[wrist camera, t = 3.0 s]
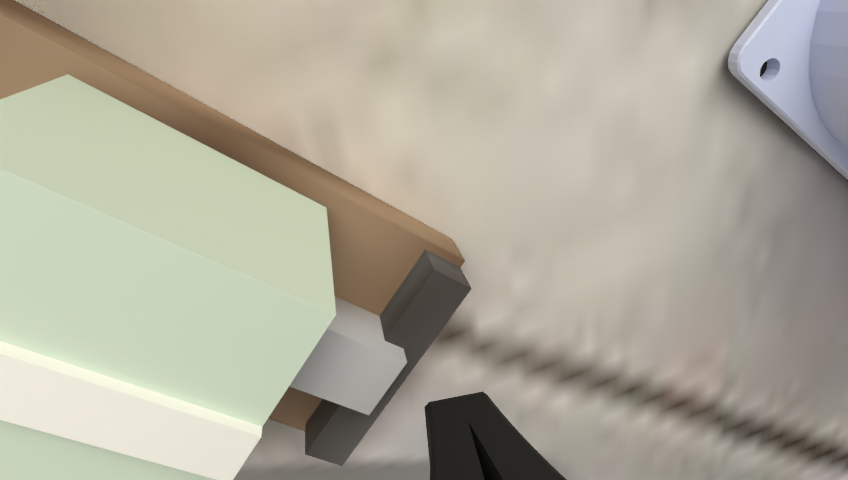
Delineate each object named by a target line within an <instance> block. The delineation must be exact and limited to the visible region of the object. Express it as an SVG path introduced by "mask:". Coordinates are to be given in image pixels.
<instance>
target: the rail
mask: <svg viewBox="0 0 848 480" xmlns="http://www.w3.org/2000/svg"><path fill="white" fill-rule="evenodd" d="M67 74H69V75H70V76H72V77H74V78H76V79H78V80H80V81H82V82H84V83H86V84H88V85H90V86H92V87H94V88H96V89H98V90H100V91H101V92H103V93H105V94H107V95H109V96H111V97H113V98H115V99H117V100H119V101H121V102H123V103H125V104H127V105H129V106H131V107H132V108H134V109H136V110H138V111H140V112H142V113H144V114H146V115H148V116H150V117H152V118H154V119H156V120H158V121H160V122H162V123H164V124H165V125H167V126H169V127H171V128H173V129H175V130H177V131H179V132H181V133H183V134H185V135H187V136H189V137H191V138H193V139H195V140H196V141H198V142H200V143H202V144H204V145H206V146H208V147H210V148H212V149H214V150H216V151H218V152H220V153H222V154H224V155H226V156H227V157H229V158H231V159H233V160H235V161H237V162H239V163H241V164H243V165H245V166H247V167H249V168H251V169H253V170H255V171H257V172H259V173H260V174H262V175H264V176H266V177H268V178H270V179H272V180H274V181H276V182H278V183H280V184H282V185H284V186H286V187H288V188H290V189H291V190H293V191H295V192H297V193H299V194H301V195H303V196H305V197H307V198H309V199H311V200H313V201H315V202H317V203H319V204H321V205H322V206H324V207H326V208H327V219H328V230H329V241H330V252H331V263H332V274H333V284H334V295H335V306H336V316H335V317H334V319H333V320H332V322H331V323H330V325H329V326H328V328H327V329H326V331H325V332H324V334H323V335H322V337H321V338H320V340H319V342H318V343H317V345H316V346H315V348H314V349H313V351H312V352H311V354H310V355H309V357H308V358H307V360H306V361H305V363H304V364H303V366H302V367H301V369H300V370H299V372H298V373H297V375H296V376H295V378H294V380H293V381H292V383H291V384H290V386H289V387H288V389H287V390H286V392H285V393H284V395H283V396H282V398H281V399H280V401H279V402H278V404H277V405H276V407H275V408H274V410H273V411H272V413H271V415H270V416H269V418H268V419H271V420H274V421H277V422H280V423H283V424H286V425H289V426H292V427H295V428H298V429H301V430H304V431H305V454H306V455H309V456H312V457H316V458H319V459H322V460H325V461H328V462H331V463H335V464H338V465H341V466H342V465H343V464H344V463H345V461H346V460H347V458H348V457H349V456H350V454H351V453H352V452H353V450H354V449H355V447H356V446H357V445H358V443H359V442H360V441H361V439H362V438H363V437H364V435H365V434H366V432H367V431H368V430H369V428H370V427H371V426H372V424H373V423H374V421H375V420H376V419H377V417H378V416H379V415H380V413H381V412H382V410H383V409H384V408H385V406H386V405H387V404H388V402H389V401H390V399H391V398H392V397H393V395H394V394H395V393H396V391H397V390H398V389H399V387H400V386H401V384H402V383H403V382H404V380H405V379H406V378H407V376H408V375H409V373H410V372H411V371H412V369H413V368H414V367H415V365H416V364H417V362H418V361H419V360H420V358H421V357H422V356H423V354H424V353H425V351H426V350H427V349H428V347H429V346H430V345H431V343H432V342H433V341H434V339H435V338H436V336H437V335H438V334H439V332H440V331H441V330H442V328H443V327H444V325H445V324H446V323H447V321H448V320H449V319H450V317H451V316H452V314H453V313H454V312H455V310H456V309H457V308H458V306H459V305H460V304H461V302H462V301H463V299H464V298H465V297H466V295H467V294H468V293H469V291H470V290H471V287H470V285H469V283H468V281H467V279H466V278H465V276H464V274H463V272H462V270H461V268H460V267H461V265H462V264H463V262H464V261H465V260H464V259H463V257H462V255H461V253H460V252H459V250H458V248H457V246H456V245H455V243H454V241H453V239H451V238H449V237H447V236H445V235H443V234H442V233H440V232H438V231H436V230H434V229H432V228H431V227H429V226H427V225H425V224H423V223H421V222H420V221H418V220H416V219H414V218H412V217H410V216H409V215H407V214H405V213H403V212H401V211H399V210H398V209H396V208H394V207H392V206H390V205H388V204H387V203H385V202H383V201H381V200H379V199H377V198H376V197H374V196H372V195H370V194H368V193H366V192H365V191H363V190H361V189H359V188H357V187H355V186H353V185H352V184H350V183H348V182H346V181H344V180H342V179H341V178H339V177H337V176H335V175H333V174H331V173H330V172H328V171H326V170H324V169H322V168H320V167H319V166H317V165H315V164H313V163H311V162H309V161H308V160H306V159H304V158H302V157H300V156H298V155H297V154H295V153H293V152H291V151H289V150H287V149H286V148H284V147H282V146H280V145H278V144H276V143H275V142H273V141H271V140H269V139H267V138H265V137H264V136H262V135H260V134H258V133H256V132H254V131H253V130H251V129H249V128H247V127H245V126H243V125H242V124H240V123H238V122H236V121H234V120H232V119H231V118H229V117H227V116H225V115H223V114H221V113H220V112H218V111H216V110H214V109H212V108H210V107H208V106H207V105H205V104H203V103H201V102H199V101H197V100H196V99H194V98H192V97H190V96H188V95H186V94H185V93H183V92H181V91H179V90H177V89H175V88H174V87H172V86H170V85H168V84H166V83H164V82H163V81H161V80H159V79H157V78H155V77H153V76H152V75H150V74H148V73H146V72H144V71H142V70H141V69H139V68H137V67H135V66H133V65H131V64H130V63H128V62H126V61H124V60H122V59H120V58H119V57H117V56H115V55H113V54H111V53H109V52H108V51H106V50H104V49H102V48H100V47H98V46H97V45H95V44H93V43H91V42H89V41H87V40H86V39H84V38H82V37H80V36H78V35H76V34H75V33H73V32H71V31H69V30H67V29H65V28H64V27H62V26H60V25H58V24H56V23H54V22H52V21H51V20H49V19H47V18H45V17H43V16H41V15H40V14H38V13H36V12H34V11H32V10H30V9H29V8H27V7H25V6H23V5H21V4H19V3H18V2H16V1H14V0H0V99H3V98H6V97H8V96H11V95H14V94H16V93H19V92H22V91H25V90H27V89H30V88H33V87H35V86H38V85H41V84H43V83H46V82H49V81H51V80H54V79H57V78H59V77H62V76H65V75H67Z"/></svg>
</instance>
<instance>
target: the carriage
mask: <svg viewBox="0 0 848 480" xmlns="http://www.w3.org/2000/svg"><path fill="white" fill-rule="evenodd" d="M335 316H336V306H335V295H334V284H333V274H332V263H331V252H330V241H329V230H328V219H327V208H326V207H324V206H322V205H321V204H319V203H317V202H315V201H313V200H311V199H309V198H307V197H305V196H303V195H301V194H299V193H297V192H295V191H293V190H291V189H290V188H288V187H286V186H284V185H282V184H280V183H278V182H276V181H274V180H272V179H270V178H268V177H266V176H264V175H262V174H260V173H259V172H257V171H255V170H253V169H251V168H249V167H247V166H245V165H243V164H241V163H239V162H237V161H235V160H233V159H231V158H229V157H227V156H226V155H224V154H222V153H220V152H218V151H216V150H214V149H212V148H210V147H208V146H206V145H204V144H202V143H200V142H198V141H196V140H195V139H193V138H191V137H189V136H187V135H185V134H183V133H181V132H179V131H177V130H175V129H173V128H171V127H169V126H167V125H165V124H164V123H162V122H160V121H158V120H156V119H154V118H152V117H150V116H148V115H146V114H144V113H142V112H140V111H138V110H136V109H134V108H132V107H131V106H129V105H127V104H125V103H123V102H121V101H119V100H117V99H115V98H113V97H111V96H109V95H107V94H105V93H103V92H101V91H100V90H98V89H96V88H94V87H92V86H90V85H88V84H86V83H84V82H82V81H80V80H78V79H76V78H74V77H72V76H70V75H69V74H67V75H65V76H62V77H59V78H57V79H54V80H51V81H49V82H46V83H43V84H41V85H38V86H35V87H33V88H30V89H27V90H25V91H22V92H19V93H16V94H14V95H11V96H8V97H6V98H3V99H0V480H233V479H234V477H235V476H236V474H237V473H238V471H239V470H240V468H241V467H242V465H243V464H244V462H245V461H246V459H247V458H248V456H249V455H250V453H251V452H252V450H253V449H254V447H255V446H256V444H257V443H258V441H259V440H260V438H261V435H262V427H263V425H264V424H265V422H266V421H267V419H268V418H269V416H270V415H271V413H272V411H273V410H274V408H275V407H276V405H277V404H278V402H279V401H280V399H281V398H282V396H283V395H284V393H285V392H286V390H287V389H288V387H289V386H290V384H291V383H292V381H293V380H294V378H295V376H296V375H297V373H298V372H299V370H300V369H301V367H302V366H303V364H304V363H305V361H306V360H307V358H308V357H309V355H310V354H311V352H312V351H313V349H314V348H315V346H316V345H317V343H318V342H319V340H320V338H321V337H322V335H323V334H324V332H325V331H326V329H327V328H328V326H329V325H330V323H331V322H332V320H333V319H334V317H335Z"/></svg>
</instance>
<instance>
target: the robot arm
mask: <svg viewBox="0 0 848 480" xmlns="http://www.w3.org/2000/svg"><path fill="white" fill-rule="evenodd" d="M766 61H767V62H768V63H767V69H766V71H765V73H764V74H763V75H762V76H761V77H760V69H761V67H762V65H763V63H765V62H766ZM728 67H729V70H730V72H731V73H732V75H733V76H734V77H736V78H737V79H738V80H739V81H740V82H741V83H742V84H743V85H744V86H745V87H746V88H748V89H749V90H750V91H751V92H752V93H753V94H754V95H755V96H756V97H757V98H759V99H760V100H761V101H762V102H763V103H764V104H765V105H766V106H767V107H768V108H769V109H771V110H772V111H773V112H774V113H775V114H776V115H777V116H778V117H779V118H780V119H782V120H783V121H784V122H785V123H786V124H787V125H788V126H789V127H790V128H791V129H792V130H794V131H795V132H796V133H797V134H798V135H799V136H800V137H801V138H802V139H803V140H804V141H806V142H807V143H808V144H809V145H810V146H811V147H812V148H813V149H814V150H815V151H817V152H818V153H819V154H820V155H821V156H822V157H823V158H824V159H825V160H826V161H827V162H829V163H830V164H831V165H832V166H833V167H834V168H835V169H836V170H837V171H838V172H840V173H841V174H842V175H843V176H844V177H845V178H846V179H847V180H848V0H768V1H767V3H766V4H765V5H764V7H763V8H762V9H761V10H760V12H759V13H758V14H757V16H756V17H755V18H754V20H753V21H752V22H751V23H750V25H749V26H748V27H747V29H746V30H745V31H744V32H743V34H742V35H741V36H740V38H739V39H738V40H737V42H736V43H735V44H734V46H733V48H732V49H731V51H730V53H729V58H728ZM425 416H426V427H427V437H428V448H429V459H430V480H566V479H565V478H564V477H563V476H562V475H561V474H560V473H559V472H558V471H557V470H556V469H555V468H554V467H552V466H551V465H550V464H549V463H548V462H547V461H546V460H545V459H544V458H543V457H542V456H541V455H540V454H539V453H538V452H537V451H536V450H535V449H534V448H533V447H532V446H531V445H530V444H529V443H528V441H527V440H526V439H525V438H524V437H523V436H522V435H521V434H520V433H519V432H518V431H517V430H516V429H515V427H514V426H513V425H512V424H511V423H510V422H509V421H508V420H507V418H506V417H505V416H504V415H503V414H502V413H501V411H500V410H499V409H498V408H497V407H496V405H495V404H494V403H493V402H492V401H491V399H490V398H489V397H488V395H486V394H485V393H483V392H479V393H474V394H469V395H463V396H458V397H453V398H448V399H443V400H438V401H433V402H429V403H428V404H427V405H426V406H425Z"/></svg>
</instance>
